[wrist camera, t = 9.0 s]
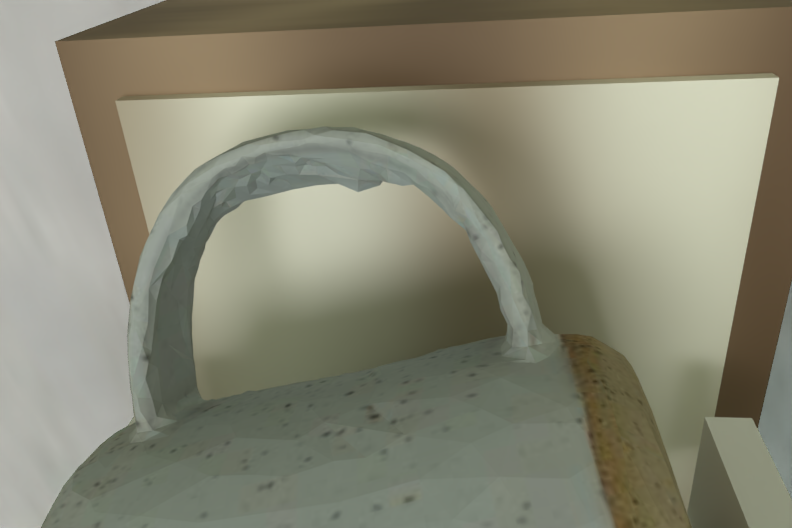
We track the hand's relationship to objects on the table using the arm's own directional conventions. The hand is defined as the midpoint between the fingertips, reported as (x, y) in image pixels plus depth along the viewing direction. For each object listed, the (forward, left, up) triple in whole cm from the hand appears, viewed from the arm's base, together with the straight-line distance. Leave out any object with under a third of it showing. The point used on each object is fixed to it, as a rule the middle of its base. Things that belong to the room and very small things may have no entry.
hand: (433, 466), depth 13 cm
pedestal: (0, 0, -8) cm, 8 cm away
